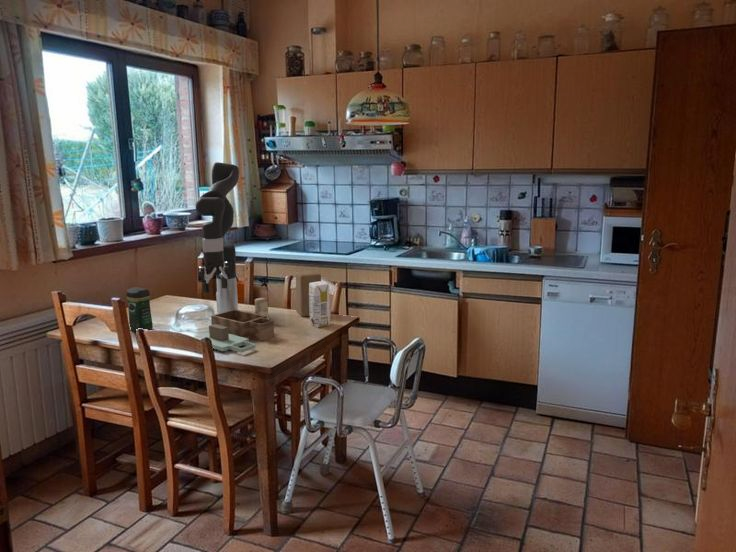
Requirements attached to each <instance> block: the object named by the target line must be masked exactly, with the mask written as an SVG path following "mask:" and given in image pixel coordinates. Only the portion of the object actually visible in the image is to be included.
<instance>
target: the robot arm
mask: <svg viewBox="0 0 736 552" xmlns="http://www.w3.org/2000/svg"><path fill="white" fill-rule="evenodd" d="M239 179H240V168H239V167H238V166H237V165H236V164H232V163H226V162H219V161H218V162H217V161H216V162H213V164H212V168H211V185H210V186H209V189H208V190H207V192H205V193H203V194H202V195H201V196H200V197H199V198H197V200H196V202H195V211H196V213H198V215H200V216H201V217H212V218H211V219H212V221H207V222H204V223H203V224H202V253H203V262H204V266H197V282H198V283H202V289H203V292H204V293H205V294H208V293H210V283H209V282H210V280H211V279H212V278H213V277H215V278H216V293H215V297H216V312H217V314H219V313H223V312H226V311H230V310H233V309H236V310H239V303H238V302H239V301H238V284H237V270H236V269H237V267H236V265H237V264H236V262H237V261H236V258H237V257H236V253H237V252H236V247H235V244H233V243H224V242H223V238H224V237H225V236H226V235H227V233H228V232H229V231H230V230H231V228H232V226H233V224H234V217H235V216H234V213H235V212H234V207H233V205H232V203H231V201H229V199H228V198H227V195H228V194H229V193H230V192H231V191H232V190H233V189H234V188H235V187H236V186H237V184H238V182H239Z"/></svg>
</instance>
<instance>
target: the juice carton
mask: <svg viewBox="0 0 736 552" xmlns="http://www.w3.org/2000/svg"><path fill="white" fill-rule="evenodd" d="M330 297H331V296H330V284H329V283H326V282H324V281H322V280H321V281H319V282H312V283H309V310H310V316H309V323H310V325H311V324H312V325H311V326H313V325H314V327H315V328H317V329H319V328H318V327H320V328H324V327H323V326H325V327H329V325H330V324H331V300H330V299H331V298H330Z"/></svg>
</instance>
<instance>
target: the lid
mask: <svg viewBox="0 0 736 552" xmlns="http://www.w3.org/2000/svg"><path fill="white" fill-rule="evenodd" d="M208 331H209V332H206V333H202V334H199V335H196V336H195V337H197V338H203V337H209V338H211V340H212V344H213V347H214V350H216V349H217V350H216V351H221V352H223V351H225V352H227V351H234V352H236V353H237V352H238V353H241V354H242V353H245V352H247V351H251V350H253V349H256V344H255V343H252V342H250V341H249V340H250V338H248V339H247V338H244V337H240V336H236V335H232V334H228V327H225V326H221V325H217V324H213V325H212V324H209V325H208ZM241 346H245V347H241ZM229 349H230V350H229ZM226 350H227V351H226Z"/></svg>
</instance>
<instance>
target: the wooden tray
mask: <svg viewBox="0 0 736 552" xmlns="http://www.w3.org/2000/svg"><path fill="white" fill-rule="evenodd" d="M210 318H211V319H210V320H211V325H213V324H217V325H221V326H225V327H228V334H232V335H236V336H240V337H244V338H247V339H253V340H256V341H261V342H264V341H265V340H269V339H271V338H274V337H275V331H274V329H275V328H274V327H275V325H274V323H275V322H274V320H273V319H269V318H268V319H267V316H264V315H259V314H255V312H254V313H252V312H250V311H246V310H245V311H244V310H240V309H238V310H236V309H233V310H230V311H226V312H223V313H217V314H212V315H211V316H210Z"/></svg>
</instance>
